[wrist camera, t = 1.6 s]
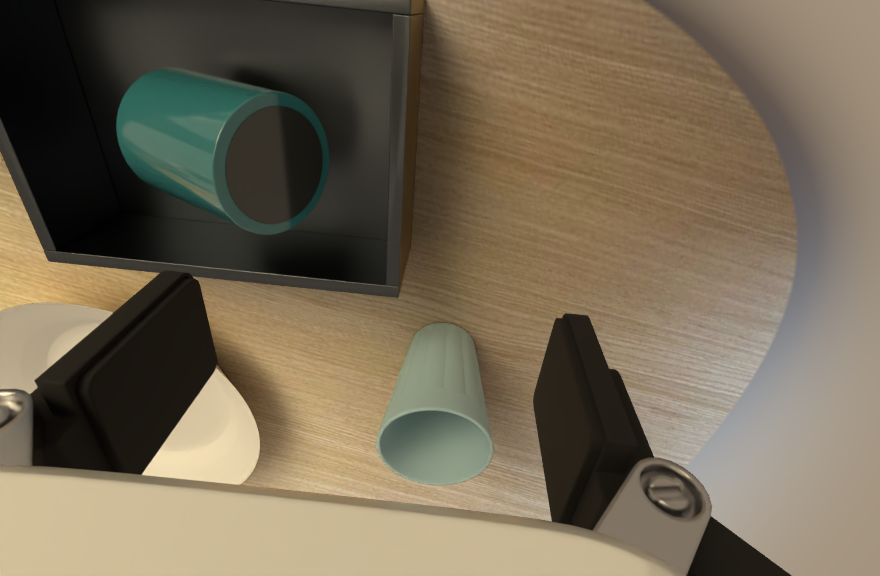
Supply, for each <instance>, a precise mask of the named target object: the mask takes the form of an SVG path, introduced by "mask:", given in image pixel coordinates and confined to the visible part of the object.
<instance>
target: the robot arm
mask: <svg viewBox="0 0 880 576" xmlns="http://www.w3.org/2000/svg"><path fill="white" fill-rule="evenodd" d="M216 365H217V356H216V352H215V348H214V343H213V339H212V335H211V331H210V326H209V322H208V318H207V313H206V309H205V305H204V301H203V296H202V292H201V288H200V284H199V282H198V280H196V279H193V276H192V275H191V274H189V273H186V272H176V271H163V272H161V273H160V274H159V275H157V276H156V277H155V278H154V279H153V280H152V281H150V282H149V283H148V284H147V285H146V286H145V287H143V288H142V289H141V290H140V291H139V292H137V293H136V294H135V295H134V296H133V297H132V298H130V299H129V300H128V301H127V302H126V303H125V304H123V305H122V306H121V307H120V308H119V309H118V310H116V311H115V312H114V313H113V314H112V315H110V316H109V317H108V318H107V319H106V320H105V321H103V322H102V323H101V324H100V325H99V326H98V327H96V328H95V329H94V330H93V331H92V332H91V333H89V334H88V335H87V336H86V337H85V338H83V339H82V340H81V341H80V342H79V343H78V344H76V345H75V346H74V347H73V348H72V349H71V350H69V351H68V352H67V353H66V354H65V355H64V356H62V357H61V358H60V359H59V360H58V361H56V362H55V363H54V364H53V365H52V366H51V367H49V368H48V369H47V370H46V371H45V372H44V373H42V374H41V375H40V376H39V377H38V378H37V379H35V380H34V381H35V383H36V385H37V387H38V388H37V389H35V390H34V391H33V392H32V393H31V394H29V393H27V392H26V391H24V390H19V389H0V576H791V575H790V574H789V573H787V572H786V571H784V570H783V569H782V568H780V567H779V566H777V565H776V564H775V563H773V562H772V561H771V560H770V559H768V558H767V557H765V556H764V555H763V554H761V553H760V552H759V551H757V550H756V549H755V548H753V547H752V546H750V545H749V544H748V543H746V542H745V541H744V540H742V539H741V538H740V537H738V536H737V535H736V534H734V533H733V532H732V531H730V530H729V529H727V528H726V527H725V526H723V525H722V524H721V523H719V522H718V521H717V520H715V519H714V518H713V517H711V510H712V505H711V502H710V497H709V495H708V493H707V491H706V490H705V488H704V486H703V485H702V484H701V483H700V482H699V480H698V479H697V478H696V477H695V476H694V475H693V474H691V473H690V472H689V471H687V470H686V469H685V468H683V467H682V466H680V465H678V464H676V463H674V462H672V461H669V460H665V459H662V458H654V456H653V453H652V451H651V449H650V446H649V444H648V441H647V439H646V436H645V434H644V431H643V429H642V427H641V424H640V422H639V419H638V417H637V414H636V412H635V410H634V407H633V405H632V402H631V400H630V397H629V395H628V393H627V390H626V388H625V385H624V383H623V380H622V378H621V376H620V374H619V372H618V371H616V370H614V369H609V368H608V365H607V362H606V360H605V357H604V355H603V352H602V349H601V347H600V344H599V342H598V339H597V337H596V334H595V331H594V329H593V326H592V324H591V321H590V319H589V317H588V316H586V315H577V314H567V313H566V314H564V316H563V318H556V320H555V322H554V325H553V329H552V332H551V336H550V339H549V343H548V346H547V350H546V353H545V357H544V360H543V364H542V367H541V371H540V374H539V378H538V381H537V385H536V389H535V392H534V399H533V405H534V412H535V418H536V425H537V431H538V437H539V443H540V450H541V456H542V462H543V468H544V474H545V481H546V487H547V493H548V499H549V506H550V512H551V518H552V522H551V521H545V520H539V519H533V518H525V517H517V516H510V515H502V514H494V513H486V512H479V511H471V510H463V509H454V508H445V507H436V506H427V505H419V504H410V503H401V502H392V501H383V500H374V499H365V498H356V497H347V496H338V495H329V494H320V493H310V492H301V491H292V490H282V489H273V488H264V487H254V486H245V485H235V484H226V483H216V482H206V481H197V480H187V479H177V478H167V477H157V476H148V475H142V474H143V472H144V471H145V469H146V468H147V466H148V465H149V464H150V462H151V461H152V459H153V458H154V457H155V455H156V454H157V452H158V451H159V449H160V448H161V447H162V445H163V444H164V442H165V441H166V440H167V438H168V437H169V435H170V434H171V432H172V431H173V430H174V428H175V427H176V425H177V424H178V423H179V421H180V420H181V418H182V417H183V415H184V414H185V413H186V411H187V410H188V408H189V407H190V406H191V404H192V403H193V401H194V400H195V398H196V397H197V396H198V394H199V393H200V391H201V390H202V388H203V387H204V386H205V384H206V383H207V381H208V380H209V379H210V377H211V376H212V374H213V373H214V371H215V369H216Z"/></svg>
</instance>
